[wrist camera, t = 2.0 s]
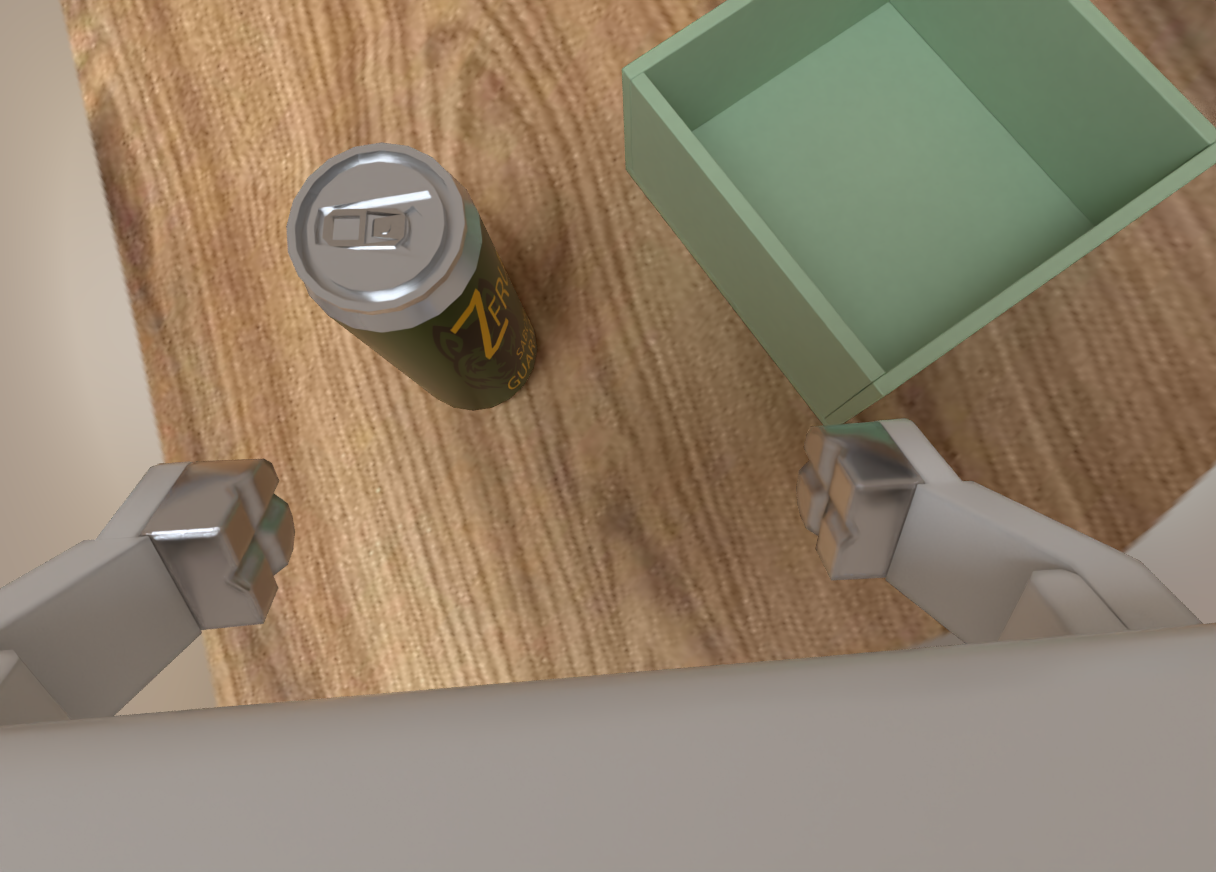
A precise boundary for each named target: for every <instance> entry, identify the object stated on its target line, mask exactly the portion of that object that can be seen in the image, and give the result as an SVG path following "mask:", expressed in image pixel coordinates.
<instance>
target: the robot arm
mask: <svg viewBox="0 0 1216 872" xmlns="http://www.w3.org/2000/svg"><path fill="white" fill-rule="evenodd" d="M804 450H805V452H806V454H807V456H808V457H809V459H810V460H809V461H808V462H807V463H806V464H805V465H804V466H803V467H802V468H801V469H800V470H799V474H798V480H797V486H796V491H797V505H798V509H799V513H800V517H801V519H802V521H803V523H804V525H805V528H806V529H808V530H810V531H811V532H813V533H814V534H816V535H817V536H818V539H817V544H816V548H815V549H816V551H817V553H818V555H819V557H820V559H821V561H822V563H823V565H824V567H825V569H826V571H827V573H828V575H829V577H830V579H831V580H846V579H866V578H886V581H887V582H889V583H890V584H891V585H892V586H894V587H895V588H896V589H897V590H899V591H900V592H901V593H902V594H904V595H905V596H906V597H907V598H909V599H910V600H911V601H913V602H914V603H915V604H916V605H918V606H919V607H920V608H921V609H923V610H924V611H925V612H926V613H928V614H929V615H930V616H931V617H933V618H934V619H935V620H936V621H938V622H939V623H940V624H942V625H943V626H944V627H945V628H947V629H948V630H949V631H950V632H952V633H953V634H954V635H955V636H957V637H958V638H959V639H961V640H962V641H963V642H964V643H966V644H960V645H948V646H936V647H925V648H913V649H902V650H890V651H879V652H867V653H856V654H844V655H833V656H821V657H809V658H797V659H785V660H772V661H760V662H748V663H736V664H724V665H712V666H700V667H688V668H676V669H664V670H651V671H639V672H628V673H616V674H604V675H592V676H581V677H569V678H557V679H545V680H534V681H522V682H510V683H498V684H486V685H475V686H463V687H451V688H439V689H428V690H416V691H404V692H392V693H381V694H369V695H357V696H345V697H333V698H321V699H310V700H298V701H286V702H274V703H262V704H250V705H239V706H227V707H215V708H203V709H191V710H181V711H168V712H156V713H145V714H132V715H122V716H121V715H120V716H114V715H115V714H116V713H117V712H118V711H120V710H121V709H122V708H123V707H124V706H125V705H126V704H127V703H128V702H129V701H130V700H131V699H132V698H133V697H134V696H136V695H137V694H138V693H139V692H140V691H141V690H142V689H143V688H144V687H145V686H146V685H147V684H148V683H149V682H150V681H151V680H152V679H153V678H155V677H156V676H157V675H158V674H159V673H160V672H161V671H162V670H163V669H164V668H165V667H166V666H167V665H168V664H170V663H171V662H172V661H173V660H174V659H175V658H176V657H177V656H178V655H179V654H180V653H181V652H182V651H183V650H184V649H185V648H187V647H188V646H189V645H190V644H191V643H192V642H193V641H194V640H195V639H196V638H197V637H198V636H199V635H200V634H201V633H202V631H201V630H206V629H216V628H226V627H236V626H245V625H255V624H264V622H265V619H266V617H267V614H268V612H269V609H270V607H271V604H272V602H273V600H274V597H275V595H276V592H277V590H278V586H277V583H276V581H275V578H274V575H275V574H277V573H278V572H279V571H280V570H282V569H283V568H284V567H285V566H287V565H288V562H289V560H290V557H291V554H292V552H293V546H294V536H295V529H294V522H293V516H292V513H291V511H290V508H289V505H288V503H286V502H285V501H283V500H282V499H281V498H279V497H278V496H277V495H275V494H274V491H275V489H276V487H277V485H278V483H279V479H278V477H277V474H276V472H275V469H274V467H273V465H272V463H271V462H269V461H267V460H265V459H243V460H218V461H196V462H176V463H160V464H158V465H155V466H152V467H150V468H149V470H148V471H147V472H146V474H145V475H144V476H143V478H142V479H141V480H140V482H139V483H138V484H137V485H136V487H135V488H134V489H133V491H132V492H131V493H130V495H129V496H128V497H127V499H126V500H125V501H124V503H123V504H122V505H121V507H120V508H119V509H118V510H117V512H116V513H115V514H114V516H113V517H112V518H111V520H110V521H109V522H108V524H107V525H106V526H105V528H104V529H103V530H102V532H101V533H100V534H99V536H98V537H97V538H96V539H95V540H84V541H82V542H80V543H78V544H76V545H75V546H73V547H71V548H70V549H68V550H66V551H64V552H63V553H61V554H59V555H57V556H56V557H54V558H52V559H50V560H49V561H47V562H45V563H44V564H42V565H40V566H38V567H36V568H35V569H33V570H31V571H29V572H28V573H26V574H24V575H22V576H21V577H19V578H17V579H16V580H14V581H12V582H11V583H9V584H7V585H5V586H3V587H2V588H0V872H1216V623H1209V624H1203V623H1202V622H1201V621H1200V620H1199V619H1198V618H1197V617H1196V616H1195V615H1194V614H1193V613H1192V612H1191V611H1190V610H1189V609H1188V608H1187V607H1186V606H1185V605H1184V604H1183V603H1182V602H1181V601H1180V600H1179V599H1178V598H1177V597H1176V596H1175V595H1174V594H1173V593H1172V592H1171V591H1170V590H1169V589H1168V588H1167V587H1166V586H1165V585H1164V584H1163V583H1162V582H1161V581H1160V580H1159V579H1158V578H1157V577H1156V576H1155V575H1154V574H1153V573H1152V572H1151V571H1150V570H1149V569H1148V568H1147V567H1146V566H1145V565H1144V564H1143V563H1142V562H1141V561H1139V560H1137V559H1135V558H1133V557H1131V556H1129V555H1127V554H1125V553H1123V552H1120V551H1118V550H1116V549H1114V548H1112V547H1110V546H1108V545H1106V544H1104V543H1102V542H1099V541H1097V540H1095V539H1093V538H1091V537H1089V536H1087V535H1085V534H1083V533H1081V532H1078V531H1076V530H1074V529H1072V528H1070V527H1068V526H1066V525H1064V524H1062V523H1060V522H1057V521H1055V520H1053V519H1051V518H1049V517H1047V516H1045V515H1043V514H1041V513H1039V512H1036V511H1034V510H1032V509H1030V508H1028V507H1026V506H1024V505H1022V504H1020V503H1018V502H1016V501H1013V500H1011V499H1009V498H1007V497H1005V496H1003V495H1001V494H999V493H997V492H995V491H992V490H990V489H988V488H986V487H984V486H982V485H980V484H978V483H976V482H974V481H962V480H961V479H960V478H959V477H958V476H957V474H956V473H955V472H954V471H953V470H952V468H951V467H950V466H949V465H948V463H947V462H946V461H945V460H944V459H943V457H942V456H941V455H940V454H939V453H938V451H937V450H936V449H935V448H934V447H933V445H932V444H931V443H930V442H929V441H928V439H927V438H926V437H925V436H924V434H923V433H922V432H921V431H920V430H919V428H918V427H917V426H916V425H915V424H914V422H912V421H910V420H908V419H906V418H902V419H891V420H880V421H874V422H866V423H852V424H838V425H824V426H811V427H810V429H809V431H808V433H807V434H806V439H805V443H804Z"/></svg>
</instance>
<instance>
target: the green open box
mask: <svg viewBox="0 0 1216 872" xmlns="http://www.w3.org/2000/svg"><path fill="white" fill-rule="evenodd" d="M622 86H623V112H624V138H625V161H626V170H627V172H628V173H629V174H630V175H631V177H632V178H633V179H634V181H635V182H636V183H637V184H638V186H639V187H640V188H641V190H642V191H643V192H644V194H645V195H646V196H647V197H648V199H649V200H650V201H651V203H652V204H653V205H654V206H655V208H656V209H657V210H658V212H659V213H660V214H661V216H662V217H663V218H664V219H665V221H666V222H667V223H668V225H669V226H670V227H671V228H672V230H673V231H674V232H675V234H676V235H677V236H678V238H679V239H680V240H681V241H682V243H683V244H684V245H685V247H686V248H687V249H688V250H689V252H690V253H691V254H692V256H693V257H694V258H695V260H696V261H697V262H698V263H699V265H700V266H701V267H702V269H703V270H704V271H705V272H706V274H707V275H708V276H709V278H710V279H711V280H712V282H713V283H714V284H715V285H716V287H717V288H718V289H719V291H720V292H721V293H722V294H723V296H724V297H725V298H726V300H727V301H728V302H729V304H730V305H731V306H732V307H733V309H734V310H735V311H736V313H737V314H738V315H739V316H740V318H741V319H742V320H743V322H744V323H745V324H746V326H747V327H748V328H749V329H750V331H751V332H752V333H753V335H754V336H755V337H756V338H757V340H758V341H759V342H760V344H761V345H762V346H763V348H764V349H765V350H766V351H767V353H768V354H769V355H770V357H771V358H772V359H773V361H774V362H775V363H776V364H777V366H778V367H779V368H780V370H781V371H782V372H783V373H784V375H785V376H786V377H787V379H788V380H789V381H790V383H791V384H792V385H793V386H794V388H795V389H796V390H797V392H798V393H799V394H800V395H801V397H802V398H803V399H804V401H805V402H806V403H807V405H808V406H809V407H810V408H811V410H812V411H813V412H814V414H815V415H816V416H817V417H818V419H819V420H820V421H821V423H822V424H823V425H838V424H843V423H844V422H846V421H848V420H849V419H851V418H852V417H854V416H855V415H857V414H858V413H860V412H861V411H863V410H864V409H866V408H867V407H869V406H871V405H872V404H874V403H875V402H877V401H878V400H880V399H881V398H883V397H884V396H886V395H887V394H889V393H890V392H891V391H893V390H894V389H896V388H897V387H899V386H900V385H901V384H903V383H904V382H906V381H907V380H909V379H910V378H911V377H913V376H914V375H916V374H917V373H918V372H920V371H921V370H923V369H924V368H926V367H927V366H928V365H930V364H931V363H933V362H934V361H936V360H937V359H938V358H940V357H941V356H943V355H944V354H945V353H947V352H948V351H950V350H951V349H953V348H954V347H955V346H957V345H958V344H960V343H961V342H963V341H964V340H965V339H967V338H968V337H970V336H971V335H972V334H974V333H975V332H977V331H978V330H980V329H981V328H982V327H984V326H985V325H987V324H988V323H990V322H991V321H992V320H994V319H995V318H997V317H998V316H999V315H1001V314H1002V313H1004V312H1005V311H1007V310H1008V309H1009V308H1011V307H1012V306H1014V305H1015V304H1017V303H1018V302H1019V301H1021V300H1022V299H1024V298H1025V297H1026V296H1028V295H1029V294H1031V293H1032V292H1034V291H1035V290H1036V289H1038V288H1039V287H1041V286H1042V285H1044V284H1045V283H1046V282H1048V281H1049V280H1051V279H1052V278H1053V277H1055V276H1056V275H1058V274H1059V273H1061V272H1062V271H1063V270H1065V269H1066V268H1068V267H1069V266H1071V265H1072V264H1073V263H1075V262H1076V261H1078V260H1079V259H1080V258H1082V257H1083V256H1085V255H1086V254H1088V253H1089V252H1090V251H1092V250H1093V249H1095V248H1096V247H1098V246H1099V245H1100V244H1102V243H1103V242H1105V241H1106V240H1107V239H1109V238H1110V237H1112V236H1113V235H1115V234H1116V233H1117V232H1119V231H1120V230H1122V229H1123V228H1125V227H1126V226H1127V225H1129V224H1130V223H1132V222H1133V221H1134V220H1136V219H1137V218H1139V217H1140V216H1142V215H1143V214H1144V213H1146V212H1147V211H1149V210H1150V209H1152V208H1153V207H1154V206H1156V205H1157V204H1159V203H1160V202H1161V201H1163V200H1164V199H1166V198H1167V197H1169V196H1170V195H1171V194H1173V193H1174V192H1176V191H1177V190H1179V189H1180V188H1181V187H1183V186H1184V185H1186V184H1187V183H1188V182H1190V181H1191V180H1193V179H1194V178H1196V177H1197V176H1198V175H1200V174H1201V173H1203V172H1204V171H1206V170H1207V169H1208V168H1210V167H1211V166H1213V165H1214V164H1215V163H1216V128H1215V127H1214V126H1213V125H1212V124H1211V123H1210V122H1209V121H1208V120H1207V119H1206V118H1205V117H1204V116H1203V115H1202V114H1201V113H1200V112H1199V111H1198V110H1197V109H1196V108H1195V107H1194V106H1193V105H1192V104H1191V103H1190V102H1189V101H1188V100H1187V99H1186V98H1185V97H1184V96H1183V95H1182V94H1181V93H1180V92H1179V91H1178V90H1177V89H1176V88H1175V87H1174V85H1173V84H1172V83H1171V82H1170V81H1169V80H1168V79H1167V78H1166V77H1165V76H1164V75H1163V74H1162V73H1161V72H1160V71H1159V70H1158V69H1157V68H1156V67H1155V66H1154V65H1153V64H1152V63H1151V62H1150V61H1149V60H1148V59H1147V58H1146V57H1145V56H1144V55H1143V54H1142V53H1141V52H1140V51H1139V50H1138V49H1137V48H1136V47H1135V46H1134V45H1133V44H1132V43H1131V42H1130V41H1129V40H1128V39H1127V38H1126V37H1125V36H1124V35H1123V34H1122V33H1121V32H1120V31H1119V30H1118V29H1117V28H1116V27H1115V26H1114V25H1113V24H1112V23H1111V22H1110V21H1109V20H1108V19H1107V18H1106V17H1105V16H1104V15H1103V14H1102V13H1101V12H1100V11H1099V10H1098V9H1097V8H1096V7H1095V6H1094V5H1093V4H1092V3H1091V2H1090V1H1089V0H727V1H725V2H724V3H722V4H721V5H719V6H718V7H716V8H715V9H713V10H712V11H710V12H708V13H707V14H705V15H704V16H702V17H701V18H699V19H698V20H696V21H695V22H693V23H691V24H690V25H688V26H687V27H685V28H684V29H682V30H681V31H679V32H678V33H676V34H674V35H673V36H671V37H670V38H668V39H667V40H665V41H664V42H662V43H661V44H659V45H658V46H656V47H654V48H653V49H651V50H650V51H648V52H647V53H645V54H644V55H642V56H641V57H639V58H637V59H636V60H634V61H633V62H631V63H630V64H628V65H627V66H625V67H624V68H622Z"/></svg>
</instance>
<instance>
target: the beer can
mask: <svg viewBox="0 0 1216 872" xmlns="http://www.w3.org/2000/svg"><path fill="white" fill-rule="evenodd" d="M286 227H287V242H288V253H289V256H290V258H291V260H292V262H293V265H294V267H295V269H296V272H297V274H298V276H299V277H300V278H301V279H302V281H303V282H304V284H305V286H306V289H307V291H308V293H309V295H310V297H311V298H312V299H313V300H314V301H315V302H316V303H317V304H318V305H319V306H320V307H321V308H322V309H323V310H324V311H325V312H326V313H327V315H328V316H330V317H331V318H332V319H334V320H335V321H336V322H338V323H339V324H340V325H341V326H343V327H344V328H345V329H347V330H348V331H349V332H351V333H352V334H353V335H355V336H356V337H357V338H358V339H360V340H361V341H362V342H364V343H365V344H366V345H368V346H369V347H370V348H371V349H373V350H374V351H375V352H377V353H378V354H379V355H381V356H382V357H383V358H384V359H386V360H387V361H388V362H390V363H391V364H392V365H394V366H395V367H396V368H398V369H399V370H400V371H401V372H403V373H404V374H405V375H407V376H408V377H409V378H411V379H412V380H413V381H414V382H416V383H417V384H418V385H420V386H421V387H422V388H424V389H425V390H426V391H427V392H429V393H430V394H431V395H433V396H434V397H435V398H437V399H438V400H440V401H442V402H444V403H446V404H448V405H450V406H452V407H454V408H460V409H467V410H479V409H485V408H492V407H494V406H496V405H498V404H500V403H502V402H504V401H506V400H508V399H510V398H511V397H512V396H513V395H514V394H515V393H516V392H517V391H518V390H520V389H521V388H522V387H523V386H524V384H525V383H526V381H527V379H528V377H529V375H530V374H531V372H532V370H533V368H534V363H535V358H536V352H537V346H536V338H535V331H534V329H533V327H532V325H531V323H530V321H529V319H528V317H527V314H526V312H525V310H524V308H523V306H522V304H521V302H520V300H519V298H518V295H517V293H516V291H515V289H514V287H513V285H512V283H511V281H510V279H509V276H508V274H507V272H506V270H505V268H504V266H503V264H502V262H501V260H500V258H499V255H498V253H497V251H496V249H495V247H494V245H493V243H492V241H491V239H490V236H489V234H488V232H487V230H486V228H485V226H484V224H483V222H482V220H481V218H480V215H479V213H478V211H477V209H476V207H475V205H474V203H473V201H472V199H471V197H470V195H469V193H468V191H467V190H466V189H465V188H464V187H463V186H462V185H461V184H460V183H459V182H458V181H457V180H456V179H455V178H454V177H453V176H452V175H451V174H450V173H449V172H448V171H446V170H445V169H444V168H443V167H442V166H441V165H440V164H439V163H438V162H436V161H435V160H434V159H433V158H432V157H431V156H428V155H426V154H424V153H422V152H420V151H418V150H416V149H413V148H411V147H409V146H404V145H396V144H388V143H376V144H370V145H364V146H358V147H353V148H351V149H349V150H347V151H345V152H343V153H341V154H339V155H336V156H334V157H332V158H330V159H328V160H327V161H326V162H325V163H324V164H323V165H322V166H320V167H319V168H318V169H317V170H316V171H315V172H314V173H312V174H311V175H310V176H309V177H308V178H307V180H306V181H305V183H304V185H303V186H302V188H301V189H300V191H299V192H298V194H297V196H296V197H295V199H294V200H293V204H292V208H291V211H290V215H289V219H288V222H287V226H286Z"/></svg>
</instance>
